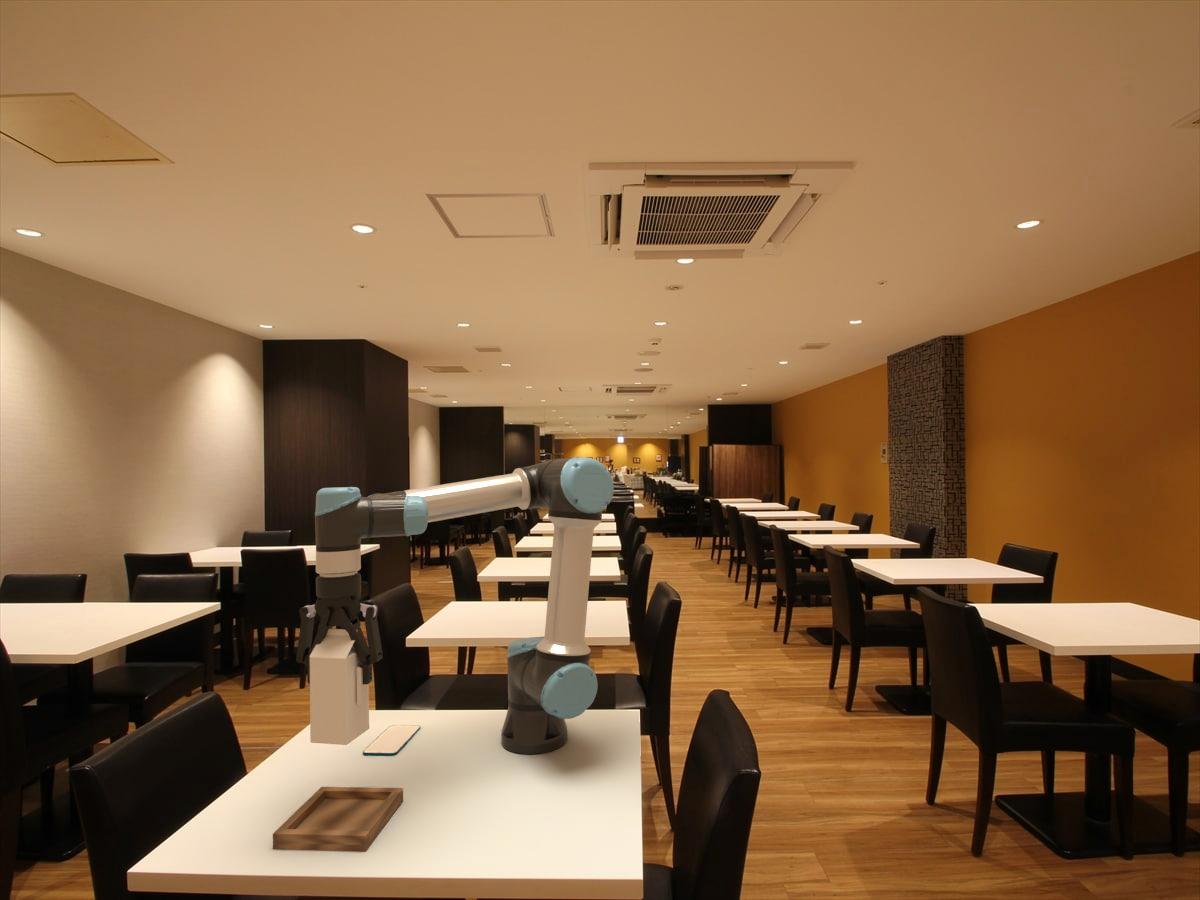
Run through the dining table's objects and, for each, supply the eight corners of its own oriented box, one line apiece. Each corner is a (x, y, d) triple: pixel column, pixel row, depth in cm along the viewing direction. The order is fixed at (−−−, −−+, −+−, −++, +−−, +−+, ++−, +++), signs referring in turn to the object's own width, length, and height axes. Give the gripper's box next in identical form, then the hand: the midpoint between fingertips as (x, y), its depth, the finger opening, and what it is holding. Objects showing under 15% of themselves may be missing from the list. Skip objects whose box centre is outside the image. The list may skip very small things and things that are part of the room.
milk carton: (346, 746, 112) (345, 634, 112) (310, 743, 113) (308, 633, 114) (369, 729, 119) (368, 624, 119) (334, 727, 120) (333, 623, 121)
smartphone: (390, 728, 159) (360, 757, 143) (390, 725, 159) (360, 752, 144) (422, 729, 159) (395, 757, 143) (422, 725, 159) (395, 753, 143)
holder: (403, 801, 123) (402, 788, 123) (365, 851, 107) (365, 835, 107) (321, 799, 124) (321, 786, 124) (272, 849, 108) (272, 833, 108)
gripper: (402, 569, 120) (403, 695, 119) (295, 570, 121) (296, 694, 121) (385, 576, 112) (387, 710, 112) (272, 577, 114) (273, 709, 113)
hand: (340, 701), depth 116 cm, fingers closed on milk carton, 7 cm apart
